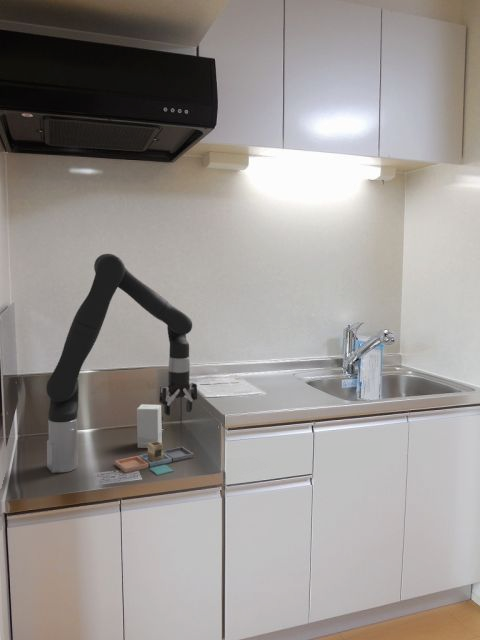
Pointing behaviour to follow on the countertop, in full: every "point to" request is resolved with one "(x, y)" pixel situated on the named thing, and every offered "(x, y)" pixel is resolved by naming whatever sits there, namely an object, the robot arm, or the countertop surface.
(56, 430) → the robot arm
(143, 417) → the skincare box
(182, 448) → the dish charcoal
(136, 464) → the dish terracotta
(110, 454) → the countertop surface
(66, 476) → the countertop surface
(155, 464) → the dish slate
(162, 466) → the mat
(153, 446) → the letter block
